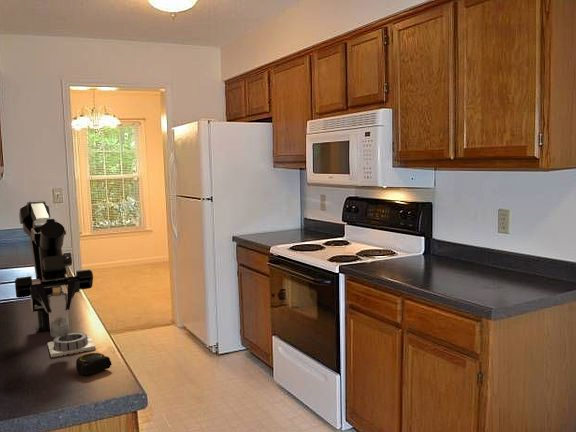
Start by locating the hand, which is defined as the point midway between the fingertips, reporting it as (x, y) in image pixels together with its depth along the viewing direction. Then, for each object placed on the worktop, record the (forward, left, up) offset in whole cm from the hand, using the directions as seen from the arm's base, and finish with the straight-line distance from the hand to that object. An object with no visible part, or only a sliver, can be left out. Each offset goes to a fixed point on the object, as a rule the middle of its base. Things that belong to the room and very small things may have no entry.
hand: (58, 310), depth 139 cm
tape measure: (+15, +6, -13) cm, 20 cm away
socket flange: (-7, +3, -12) cm, 15 cm away
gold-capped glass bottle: (-1, 0, -7) cm, 7 cm away
